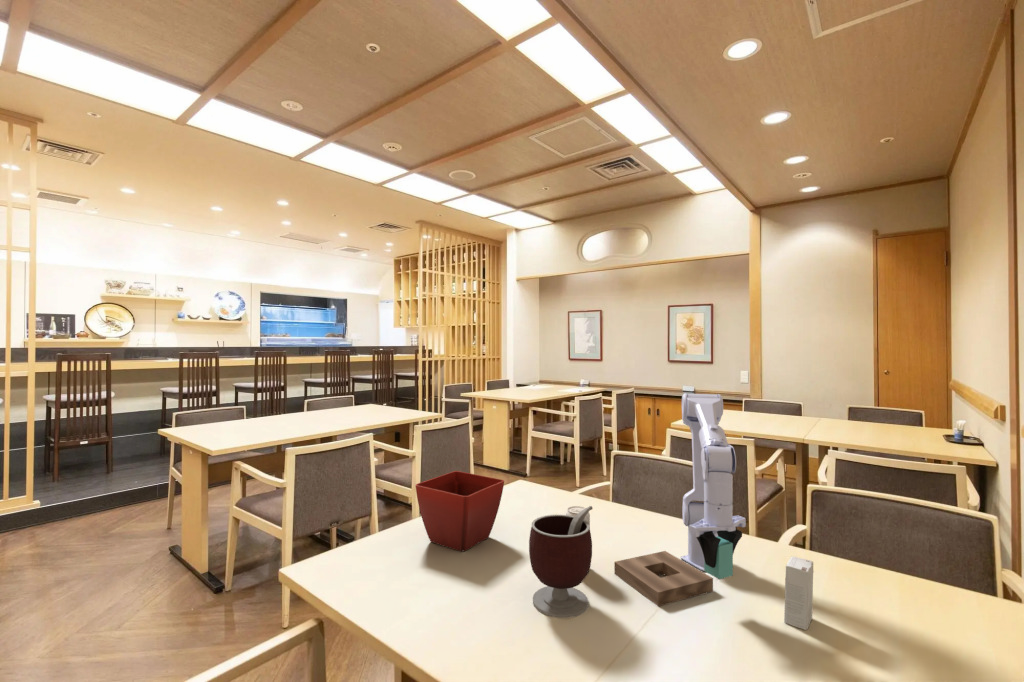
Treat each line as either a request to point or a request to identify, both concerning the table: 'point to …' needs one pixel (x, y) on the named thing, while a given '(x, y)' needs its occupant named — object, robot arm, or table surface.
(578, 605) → the mate gourd
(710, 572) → the teal peg
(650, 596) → the holder block
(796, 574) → the skincare box
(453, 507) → the plant pot
